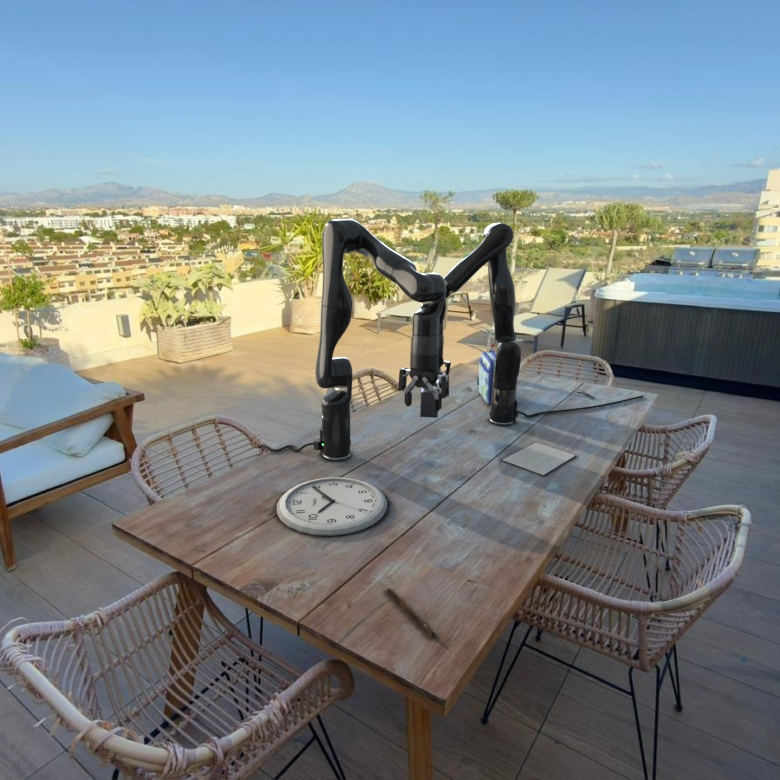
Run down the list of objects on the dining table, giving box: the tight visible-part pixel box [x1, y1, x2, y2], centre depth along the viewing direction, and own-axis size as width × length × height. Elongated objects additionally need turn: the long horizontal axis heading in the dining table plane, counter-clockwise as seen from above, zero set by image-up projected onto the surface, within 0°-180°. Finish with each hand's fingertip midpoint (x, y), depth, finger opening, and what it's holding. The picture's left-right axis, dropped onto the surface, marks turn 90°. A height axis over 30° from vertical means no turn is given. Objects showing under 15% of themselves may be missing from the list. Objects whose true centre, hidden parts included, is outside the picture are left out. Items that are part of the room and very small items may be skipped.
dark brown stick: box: [386, 587, 434, 638], centre depth 103 cm, size 15×1×1 cm, turn 34°
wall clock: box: [276, 476, 388, 537], centre depth 142 cm, size 30×2×30 cm
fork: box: [572, 384, 595, 399], centre depth 243 cm, size 3×16×2 cm, turn 16°
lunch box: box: [476, 350, 496, 406], centre depth 230 cm, size 26×11×21 cm, turn 179°
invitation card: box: [502, 442, 577, 476], centre depth 174 cm, size 21×1×15 cm
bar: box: [419, 379, 441, 419], centre depth 193 cm, size 24×6×9 cm, turn 173°
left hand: (422, 408), depth 143 cm, fingers open, 8 cm apart
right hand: (431, 387), depth 200 cm, fingers closed on bar, 6 cm apart
